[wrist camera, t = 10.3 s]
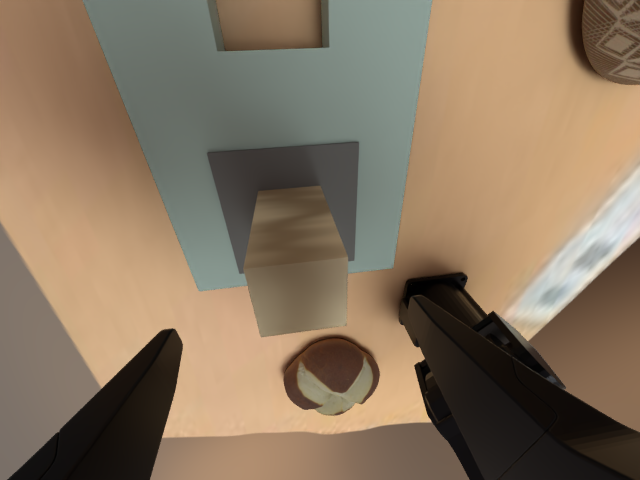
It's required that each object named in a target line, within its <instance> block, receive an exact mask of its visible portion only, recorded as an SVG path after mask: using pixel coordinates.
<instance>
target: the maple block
mask: <svg viewBox="0 0 640 480" xmlns="http://www.w3.org/2000/svg"><path fill="white" fill-rule="evenodd" d="M243 270H244V274H245V278H246V281H247V285H248V289H249V293H250V297H251V301H252V305H253V309H254V313H255V317H256V320H257V324H258V328H259V332H260V336H261V337H267V336H274V335H282V334H289V333H296V332H303V331H311V330H318V329H325V328H332V327H340V326H346V324H347V283H348V256H347V253H346V250H345V248H344V245H343V243H342V240H341V238H340V235H339V232H338V230H337V227H336V225H335V222H334V220H333V217H332V214H331V212H330V209H329V207H328V204H327V202H326V199H325V196H324V194H323V191H322V189H321V186H311V187H299V188H288V189H276V190H264V191H258V195H257V200H256V205H255V211H254V216H253V221H252V226H251V232H250V237H249V242H248V247H247V252H246V258H245V263H244V268H243Z"/></svg>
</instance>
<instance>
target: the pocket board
mask: <svg viewBox="0 0 640 480" xmlns="http://www.w3.org/2000/svg"><path fill="white" fill-rule="evenodd" d="M83 3H84V5H85V8H86V10H87V13H88V15H89V18H90V20H91V23H92V25H93V28H94V30H95V33H96V35H97V38H98V40H99V43H100V45H101V48H102V50H103V53H104V55H105V58H106V60H107V63H108V65H109V68H110V70H111V73H112V75H113V78H114V80H115V83H116V85H117V88H118V90H119V93H120V95H121V98H122V100H123V103H124V105H125V108H126V110H127V113H128V115H129V118H130V120H131V123H132V125H133V128H134V130H135V133H136V135H137V138H138V140H139V143H140V145H141V148H142V150H143V153H144V155H145V158H146V160H147V163H148V165H149V168H150V170H151V173H152V175H153V178H154V180H155V183H156V185H157V188H158V190H159V193H160V195H161V198H162V200H163V203H164V205H165V208H166V210H167V213H168V215H169V218H170V220H171V223H172V225H173V228H174V230H175V233H176V235H177V238H178V240H179V243H180V245H181V248H182V250H183V253H184V255H185V258H186V260H187V263H188V265H189V268H190V270H191V273H192V275H193V278H194V280H195V283H196V285H197V288H198V290H199V291H206V290H215V289H223V288H231V287H240V286H248V285H247V281H246V278H245V274H244V270H243V268H244V263H245V258H246V252H247V247H248V242H249V237H250V232H251V226H252V221H253V216H254V211H255V205H256V200H257V195H258V191H264V190H276V189H288V188H299V187H311V186H321V189H322V191H323V194H324V196H325V199H326V202H327V204H328V207H329V209H330V212H331V214H332V217H333V220H334V222H335V225H336V227H337V230H338V232H339V235H340V238H341V240H342V243H343V245H344V248H345V250H346V253H347V256H348V274H349V273H357V272H365V271H374V270H382V269H391V268H393V266H394V259H395V252H396V245H397V238H398V232H399V225H400V218H401V211H402V204H403V197H404V190H405V183H406V177H407V170H408V163H409V156H410V149H411V142H412V135H413V129H414V122H415V115H416V108H417V101H418V94H419V87H420V81H421V74H422V67H423V60H424V53H425V46H426V39H427V33H428V26H429V19H430V12H431V5H432V0H321V18H322V48H302V49H274V50H246V51H225V47H224V42H223V37H222V31H221V26H220V21H219V16H218V11H217V5H216V0H83Z"/></svg>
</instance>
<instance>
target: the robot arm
mask: <svg viewBox="0 0 640 480" xmlns="http://www.w3.org/2000/svg"><path fill="white" fill-rule="evenodd" d="M467 279H468V277H467V276H466V275H465V274H464V273H459V274H451V275H443V276H435V277H427V278H419V279H411V280H408V281H407V282H406V285H405V291H404V296H403V299H402V301H401V306H400V312H399V316H400V317H399V322H400V324H401V325H404V326H405V328H406V330H407V332H408V334H409V336H410V338H411V340H412V342H413V344H414V346H416V347H420V348H421V351H422V353H423V355H424V357H425V359H424V360H423V361H422V362H418V363H417V364H415V365H414V366H415V370H416V374H417V378H418V382H419V386H420V389H421V393H422V397H423V400H424V404H425V407H426V411H427V414H428V417H429V418H430V419H431V421H432V423H433V424H434V425H435V427H436V428H437V430H438V431H439V432H440V434H441V435H442V436H443V437H444V438H445V439H446V440H447V441H448V442H449V444H450V445H451V447H452V448H453V450H454V452H455V453H456V455H457V457H458V459H459V460H460V462H461V464H462V466H463V468H464V470H465V471H466V474H467V476H468V477H469V479H470V480H640V432H638V431H636V430H633V429H631V428H629V427H627V426H625V425H623V424H621V423H619V422H617V421H615V420H614V419H612V418H610V417H608V416H607V415H605V414H603V413H602V412H600V411H598V410H597V409H595V408H593V407H592V406H590V405H588V404H587V403H585V402H583V401H582V400H580V399H578V398H577V397H575V396H573V395H572V394H570V393H568V392H567V391H565V390H564V389H566V387H565V385H564V384H563V383H562V382H561V380H560V379H559V378H558V376H557V375H556V374H555V373H554V372H553V370H552V369H551V368H550V366H549V365H548V364H547V363H546V361H545V360H544V359H543V358H542V356H541V355H540V354H539V353H538V352H537V350H536V349H535V348H534V347H533V346H532V345H531V344H530V343H529V342H528V341H527V340H526V339H525V338H524V337H523V336H522V335H521V334H520V333H519V332H518V331H517V330H516V329H515V328H514V327H512V326H511V325H510V324H509V323H507V322H506V321H505V320H504V319H503V318H501V317H500V316H499V315H498V314H497V313H495V312H494V311H492V312H491V313H489V314H488V315H487V314H486V313H485V312H484V311H483V310H482V308H481V307H480V306H479V305H478V304H477V303H476V302H475V301H474V299H473V298H472V297H471V296H470V295H469V294H468V293H467V291H466V290H465V289H464V287H465V284H466V282H467ZM182 349H183V344H182V341H181V339H180V337H179V335H178V333H177V331H176V330H175V329H173V328H172V329H164V330H162V331H160V332H159V333H158V334H157V335H156V336H155V337H154V338H153V339H152V340H151V341H150V342H149V343H148V344H147V345H146V346H145V347H144V348H143V349H142V350H141V351H140V352H139V353H138V354H137V355H136V356H135V357H134V358H133V359H131V360H130V361H129V362H128V363H127V364H126V365H125V366H124V367H123V368H122V369H121V370H120V371H119V372H118V373H117V374H116V375H115V376H114V377H113V378H112V379H111V380H110V381H109V382H108V383H107V384H106V385H105V386H104V387H103V388H102V389H101V390H100V391H99V392H98V393H97V394H96V395H95V396H94V397H93V398H92V399H91V400H90V401H89V402H88V403H87V404H86V405H85V406H84V407H83V408H82V409H80V411H78V412H77V413H76V414H75V415H74V416H73V417H72V418H71V419H70V420H69V421H68V422H67V423H66V424H65V425H64V426H63V427H62V428H61V429H60V431H59V432H57V433H56V434H55V435H54V436H53V437H52V438H51V439H50V440H49V441H48V442H47V443H46V444H45V445H44V446H43V447H42V448H41V449H39V451H37V452H36V453H35V454H34V455H33V456H32V457H31V458H30V459H29V460H28V461H27V462H26V463H25V464H24V465H23V466H22V467H21V468H20V469H18V470H17V471H16V472H15V473H14V474H13V475H12V476H11V477H10V478H9V479H7V480H150V477H151V474H152V470H153V467H154V463H155V460H156V456H157V453H158V449H159V446H160V442H161V439H162V435H163V432H164V428H165V425H166V421H167V418H168V414H169V411H170V408H171V404H172V401H173V397H174V393H175V389H176V384H177V378H178V372H179V367H180V361H181V355H182Z"/></svg>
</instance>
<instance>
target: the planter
mask: <svg viewBox="0 0 640 480" xmlns="http://www.w3.org/2000/svg"><path fill="white" fill-rule="evenodd" d="M582 35H583V43H584V48H585V52H586V55H587V57H588V60H589V62H590V64H591V65H592V67H593V68H594V69H595V70H596V72H597V73H598V74H600V75H601V76H602V77H604V78H605V79H607V80H609V81H612V82H614V83H618V84H625V85H640V0H584V7H583V17H582Z"/></svg>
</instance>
